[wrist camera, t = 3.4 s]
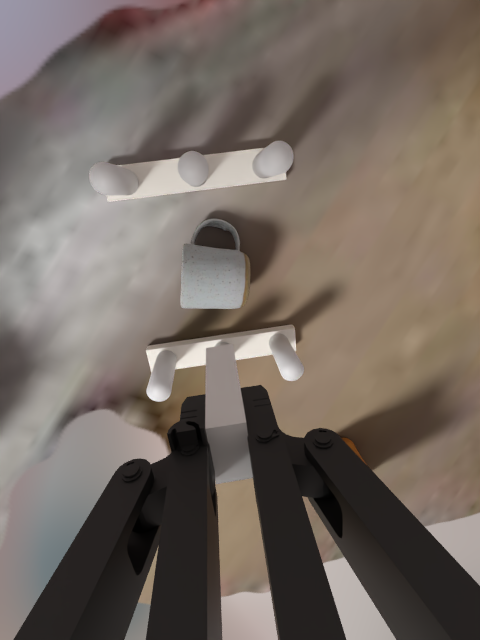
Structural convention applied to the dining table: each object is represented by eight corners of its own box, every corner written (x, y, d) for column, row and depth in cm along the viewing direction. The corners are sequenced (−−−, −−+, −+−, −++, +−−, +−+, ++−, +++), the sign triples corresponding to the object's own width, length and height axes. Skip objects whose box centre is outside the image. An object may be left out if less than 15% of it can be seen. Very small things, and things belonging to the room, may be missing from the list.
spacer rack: (153, 367, 47) (141, 407, 38) (103, 168, 37) (71, 160, 28) (293, 346, 48) (313, 380, 39) (281, 147, 38) (304, 132, 29)
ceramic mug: (241, 300, 44) (248, 319, 37) (182, 297, 43) (177, 316, 36) (248, 220, 41) (257, 224, 34) (183, 216, 40) (178, 219, 33)
